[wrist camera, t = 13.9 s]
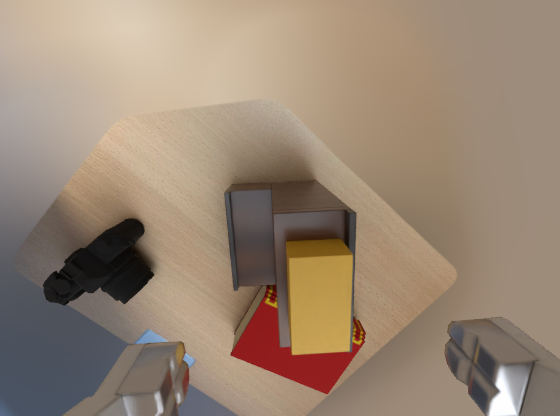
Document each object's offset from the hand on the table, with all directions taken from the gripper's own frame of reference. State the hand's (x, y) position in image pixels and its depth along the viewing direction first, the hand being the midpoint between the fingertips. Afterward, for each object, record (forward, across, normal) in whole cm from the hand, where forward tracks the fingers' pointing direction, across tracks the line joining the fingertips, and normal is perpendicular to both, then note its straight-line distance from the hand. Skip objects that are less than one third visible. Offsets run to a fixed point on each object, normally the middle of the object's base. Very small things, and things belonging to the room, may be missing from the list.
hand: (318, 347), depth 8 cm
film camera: (+33, +26, +12) cm, 44 cm away
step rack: (+33, +1, +8) cm, 34 cm away
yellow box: (+15, -2, +7) cm, 17 cm away
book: (+33, -2, +27) cm, 42 cm away
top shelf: (+16, -2, +7) cm, 18 cm away
